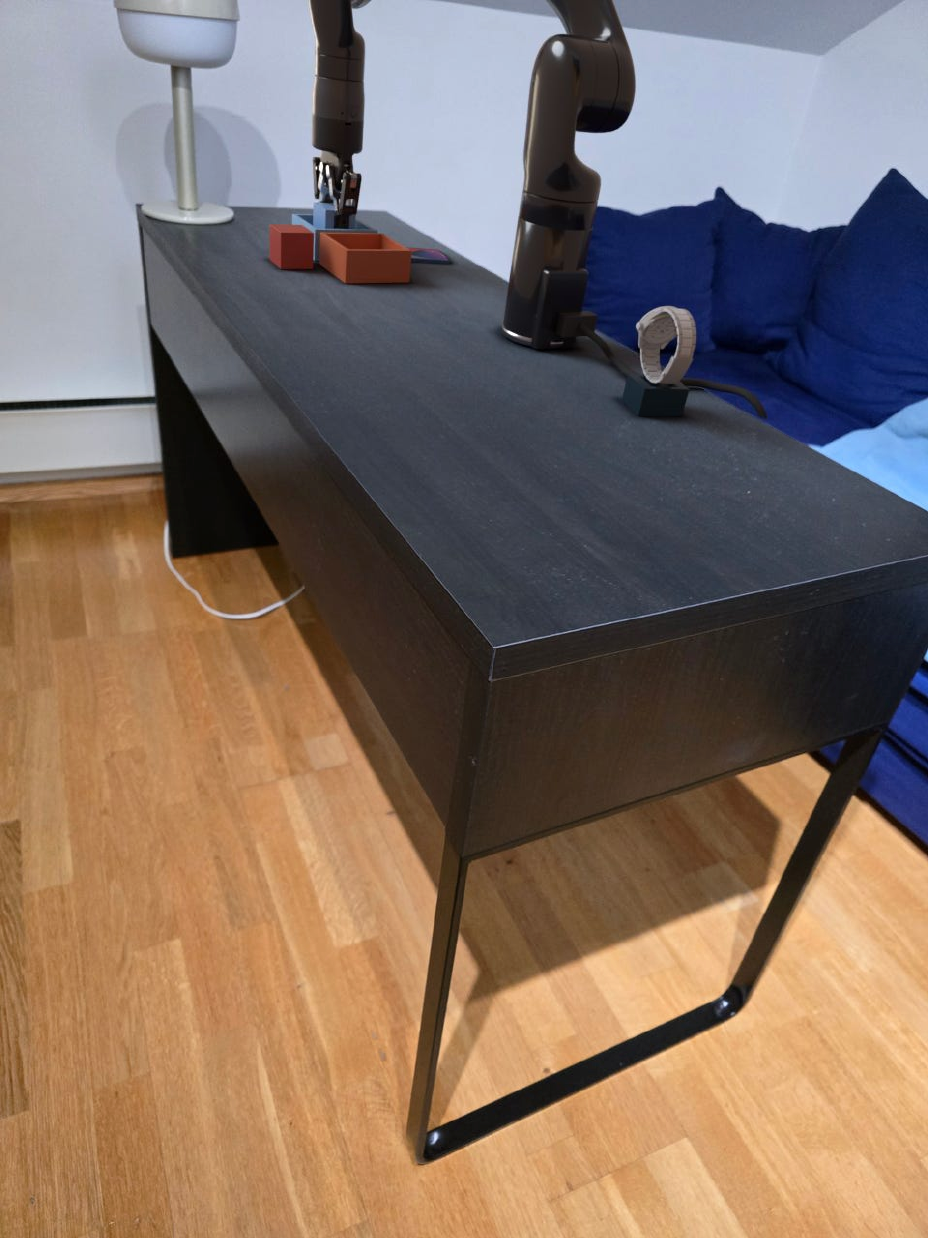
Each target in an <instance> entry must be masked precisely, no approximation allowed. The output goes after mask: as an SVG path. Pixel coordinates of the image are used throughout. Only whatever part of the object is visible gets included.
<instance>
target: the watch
mask: <svg viewBox="0 0 928 1238" xmlns="http://www.w3.org/2000/svg"><path fill="white" fill-rule="evenodd" d="M635 328H636V330H637V333H638V338H637V341H638V342H637V345H638V349H639V358H640V359H639V361H640V367H641V370H642V373H639V374H628V376H627V377H626V380H625V384H624V389H623V393H622V397H621V402H622V403H624V405H626V406H627V407H628V408H629V410H631V411H632V412H633V413H634V414H635V415H637V416H638V417H683V416H684V415H683V414H684V410H685V408H686V403H687V401H688V397H689V393H690V388H689V387H688V386H685V385H684V384H682V383H681V382H680V380H681V379H682V378H684V376H685V375H686V373H687V372H688V370H689V369H690V366H691V365H692V362H693V361H694V357H693V356H694V354H695V349H696V343H697V327H696V322H695V319H694V317H693V314H692V313H691V312H690V311H689V310H688V309H686V308H678V307H676V306H673V305H665V306H658V307H656V308H653V309H652V310H650V311H648V312H647V313H645V314H644V315H643V316H642V317H641V319H639V321H637V323H636V325H635ZM675 338H677V340H676V341H677V344H676V349H675V352H674V355H671V357H670V358H669V361H668V363H667V364H666V367H665V368H664V369H663V371H662V366H661V355H660V353H661V350H664V349H665V348H666V346H667V345H669V342H671V341H672V340H674V339H675Z"/></svg>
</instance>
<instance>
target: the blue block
mask: <svg viewBox="0 0 928 1238" xmlns="http://www.w3.org/2000/svg"><path fill="white" fill-rule="evenodd" d="M339 204H340V202H339ZM312 214H313V226H314V227H316V228H317V229H334V215H335V213H334V203H319V202H313V211H312ZM356 215H357V214H356ZM356 215H353V214H352V216H349V229H355V218H357V217H356Z"/></svg>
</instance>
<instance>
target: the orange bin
mask: <svg viewBox="0 0 928 1238" xmlns="http://www.w3.org/2000/svg"><path fill="white" fill-rule="evenodd" d="M406 247H407V246H404V245H403V244H401V243H399V242H398V241H396V240H394V239H392V238H391V237H389V236H388V235H386V234H384V233H383V232H381V233H379V232H377V233H320V255H319V261H318V264H319V265H320V266H321V267H322V268H323V269H325V270H326V271H328V272H329V273H330V274H332V275H333V276H335V278H337V279H339V280H340V281H341V282H343V283H344V284H384V283H385V284H386V283H387V284H392V283H393V284H395V283H396V284H398V283H399V284H400V283H410V275H411V265H412V262H411V253H412V251H411V250H410V249H408V248H406Z"/></svg>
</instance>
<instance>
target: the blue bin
mask: <svg viewBox="0 0 928 1238" xmlns="http://www.w3.org/2000/svg"><path fill="white" fill-rule="evenodd" d="M291 225H303V226H304V227H306V228H307V229H309V230H310V231H312V232H313V233H314V260H313V262H319V255H320V233H378V230H377V229H376V228H374V227H372V226H371V225H369V224H368V223H365V222H364V221H362V220H360V219H358V218H357V217H356V218H355V229H317V228H316V227H314V226H313V213H312V214H311V213H291Z"/></svg>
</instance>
